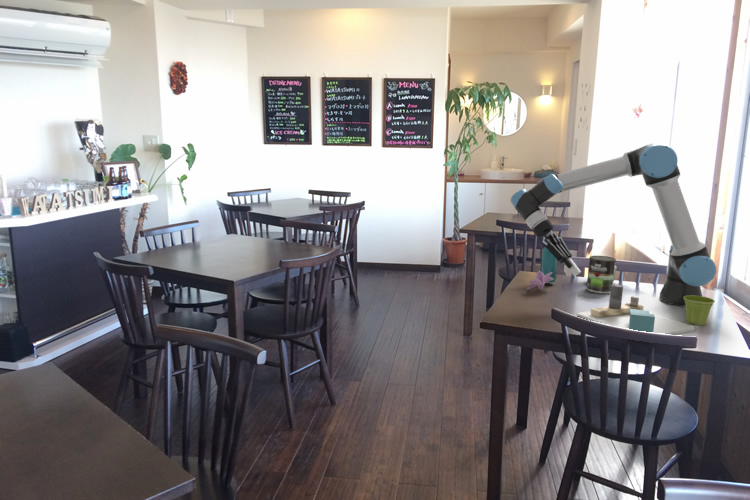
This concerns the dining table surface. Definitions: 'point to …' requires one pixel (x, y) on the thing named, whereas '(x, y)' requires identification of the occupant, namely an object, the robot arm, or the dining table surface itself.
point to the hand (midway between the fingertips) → (577, 273)
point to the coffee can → (600, 274)
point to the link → (616, 304)
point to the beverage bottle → (549, 264)
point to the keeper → (641, 320)
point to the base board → (623, 319)
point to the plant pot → (697, 309)
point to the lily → (540, 280)
